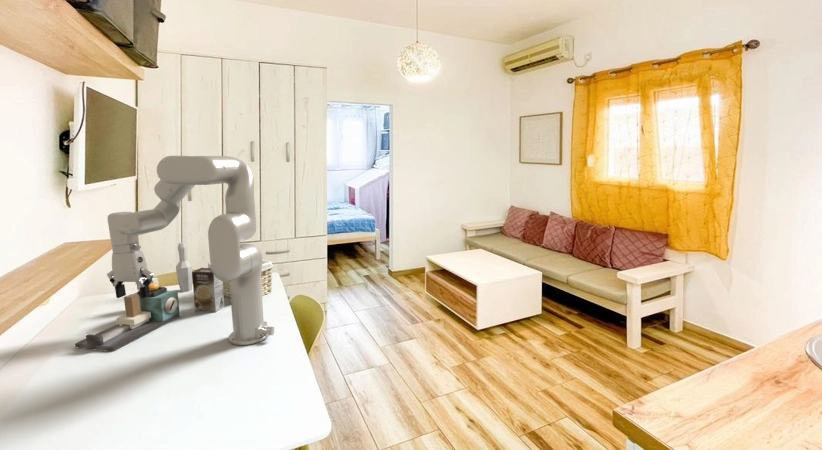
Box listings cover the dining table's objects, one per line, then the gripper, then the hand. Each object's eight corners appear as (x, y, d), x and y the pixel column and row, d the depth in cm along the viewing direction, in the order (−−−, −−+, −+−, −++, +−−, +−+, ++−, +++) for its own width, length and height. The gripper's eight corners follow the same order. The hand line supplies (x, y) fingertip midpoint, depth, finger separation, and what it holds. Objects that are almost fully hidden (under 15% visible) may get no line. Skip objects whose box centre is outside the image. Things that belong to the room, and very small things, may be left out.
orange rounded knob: (161, 288, 147) (160, 283, 147) (152, 291, 143) (151, 286, 143) (151, 287, 148) (151, 282, 147) (142, 291, 144) (142, 285, 143)
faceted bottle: (175, 290, 180) (170, 243, 176) (189, 287, 185) (185, 241, 181) (182, 293, 176) (177, 245, 173) (196, 289, 181) (192, 242, 178)
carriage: (151, 321, 141) (148, 293, 140) (135, 329, 134) (131, 299, 133) (134, 319, 142) (131, 292, 141) (117, 327, 136) (113, 298, 134)
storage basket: (276, 292, 177) (274, 260, 175) (246, 304, 163) (243, 269, 161) (239, 285, 188) (237, 254, 186) (208, 295, 174) (205, 262, 172)
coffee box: (194, 311, 155) (190, 271, 152) (204, 305, 161) (200, 267, 159) (216, 312, 154) (212, 272, 152) (225, 306, 160) (222, 268, 158)
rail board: (182, 316, 150) (179, 287, 148) (116, 351, 123) (111, 315, 121) (147, 314, 152) (144, 285, 150) (75, 347, 125) (70, 313, 123)
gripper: (157, 246, 136) (163, 293, 139) (114, 246, 139) (121, 292, 142) (139, 251, 129) (146, 301, 132) (93, 250, 132) (102, 300, 134)
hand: (133, 296), depth 137 cm, fingers open, 9 cm apart
